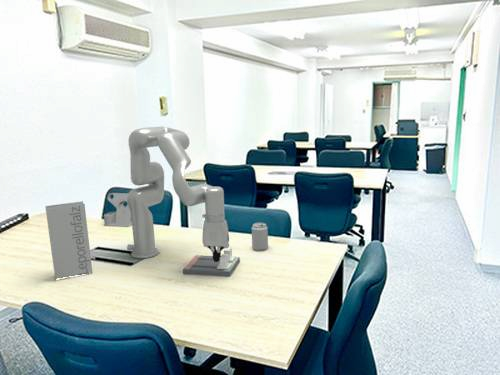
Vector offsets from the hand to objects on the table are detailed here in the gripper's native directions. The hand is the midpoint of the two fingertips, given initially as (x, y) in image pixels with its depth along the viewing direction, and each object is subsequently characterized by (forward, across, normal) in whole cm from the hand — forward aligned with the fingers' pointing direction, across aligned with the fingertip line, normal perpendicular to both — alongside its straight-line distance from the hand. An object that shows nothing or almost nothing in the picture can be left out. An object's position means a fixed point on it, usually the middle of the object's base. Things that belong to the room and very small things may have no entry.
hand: (216, 260), depth 171 cm
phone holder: (+6, -79, +60) cm, 100 cm away
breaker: (+2, +2, +8) cm, 9 cm away
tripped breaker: (+3, +3, 0) cm, 4 cm away
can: (+5, +12, +30) cm, 32 cm away
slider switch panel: (+5, -4, +4) cm, 7 cm away
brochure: (+6, -59, -12) cm, 60 cm away
